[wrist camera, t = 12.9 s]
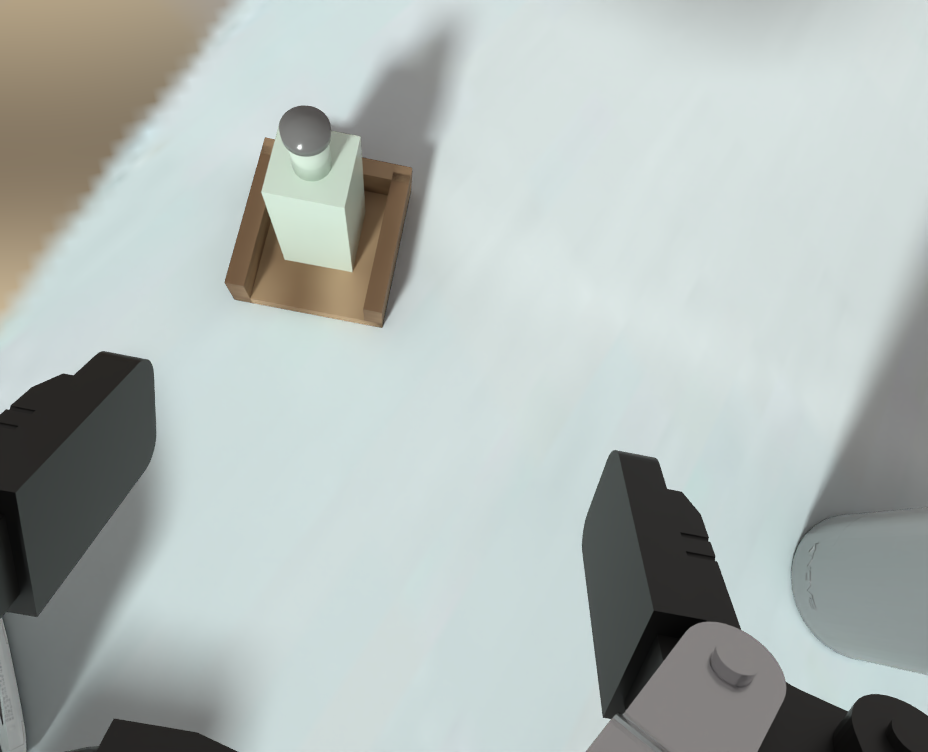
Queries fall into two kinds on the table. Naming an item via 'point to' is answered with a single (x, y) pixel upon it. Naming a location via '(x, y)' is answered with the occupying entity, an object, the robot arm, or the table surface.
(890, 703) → the robot arm
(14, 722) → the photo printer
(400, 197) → the rest
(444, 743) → the table surface
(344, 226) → the bottle
